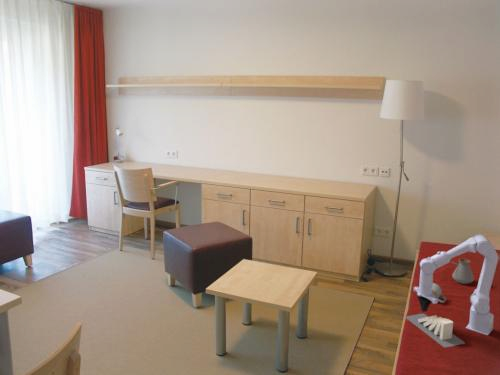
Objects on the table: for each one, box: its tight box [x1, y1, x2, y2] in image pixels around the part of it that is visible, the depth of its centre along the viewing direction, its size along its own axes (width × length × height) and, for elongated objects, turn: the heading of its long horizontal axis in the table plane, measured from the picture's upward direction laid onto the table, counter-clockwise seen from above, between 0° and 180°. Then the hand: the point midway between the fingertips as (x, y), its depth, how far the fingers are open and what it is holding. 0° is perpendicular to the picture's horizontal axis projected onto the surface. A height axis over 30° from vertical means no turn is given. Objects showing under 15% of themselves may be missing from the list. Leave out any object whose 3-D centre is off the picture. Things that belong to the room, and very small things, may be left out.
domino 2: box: [423, 316, 443, 327], centre depth 200 cm, size 2×5×8 cm
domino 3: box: [429, 317, 447, 331], centre depth 197 cm, size 2×5×8 cm
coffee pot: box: [449, 258, 475, 285], centre depth 250 cm, size 21×12×15 cm, turn 72°
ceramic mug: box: [432, 282, 447, 304], centre depth 228 cm, size 11×8×8 cm
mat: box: [404, 312, 466, 349], centre depth 200 cm, size 28×11×1 cm, turn 16°
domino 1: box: [418, 314, 438, 323], centre depth 203 cm, size 2×5×8 cm
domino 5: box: [440, 319, 454, 340], centre depth 191 cm, size 2×5×8 cm, turn 106°
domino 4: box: [434, 318, 451, 335], centre depth 194 cm, size 2×5×8 cm, turn 107°
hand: (424, 310), depth 205 cm, fingers closed
